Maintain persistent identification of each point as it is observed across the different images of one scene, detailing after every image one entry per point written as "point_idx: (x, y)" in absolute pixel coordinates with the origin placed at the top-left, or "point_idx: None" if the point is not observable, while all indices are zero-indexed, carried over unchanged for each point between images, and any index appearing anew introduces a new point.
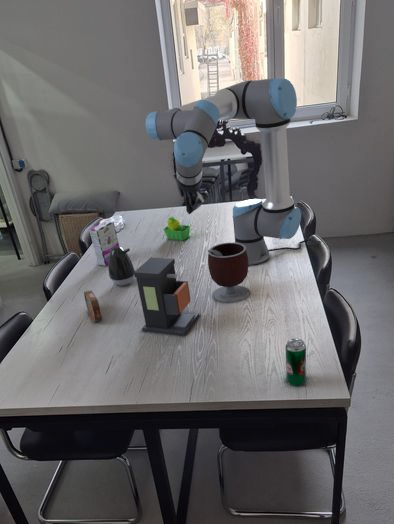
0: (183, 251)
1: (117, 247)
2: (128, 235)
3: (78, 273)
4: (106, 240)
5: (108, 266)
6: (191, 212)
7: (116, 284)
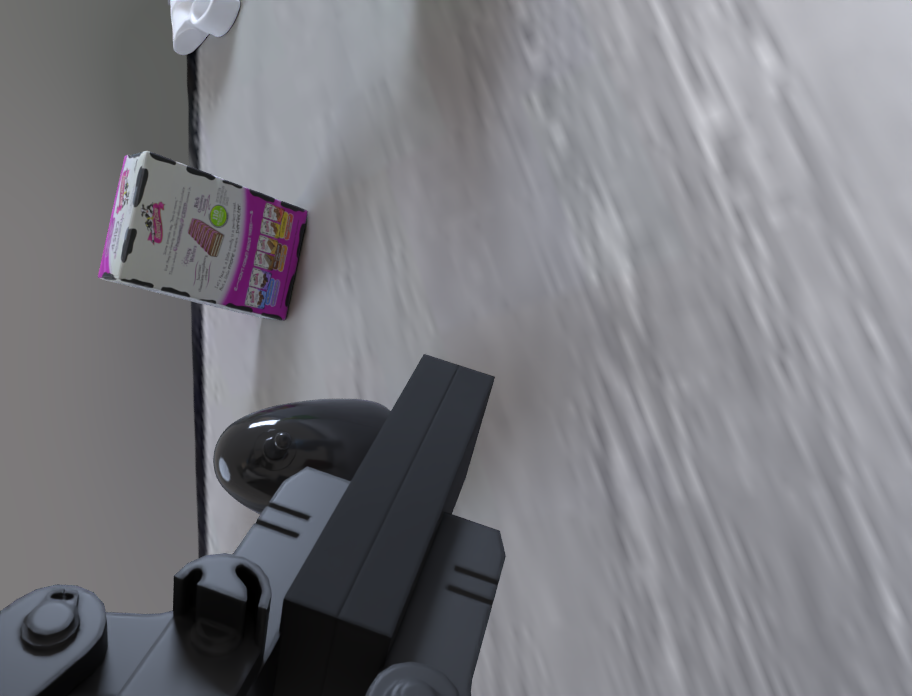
0: (536, 29)
1: (227, 457)
2: (276, 17)
3: (226, 412)
4: (196, 252)
5: None
6: (472, 448)
7: None
